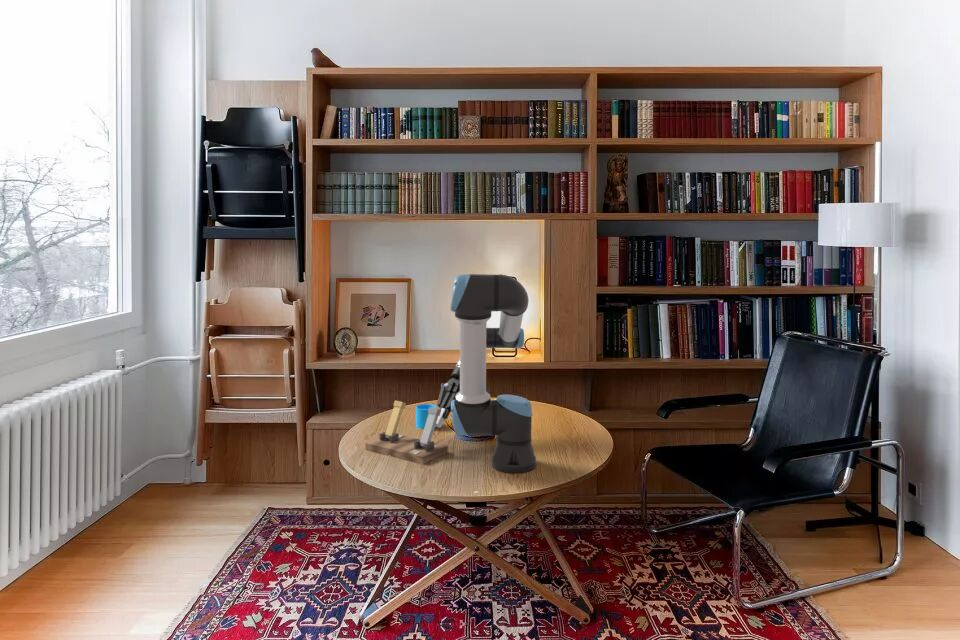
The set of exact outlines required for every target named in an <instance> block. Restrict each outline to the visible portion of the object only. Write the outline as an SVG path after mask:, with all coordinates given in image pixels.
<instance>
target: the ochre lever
mask: <svg viewBox="0 0 960 640" xmlns="http://www.w3.org/2000/svg"><path fill="white" fill-rule="evenodd" d="M406 406H407V403H406V402H403V401H401V400H394V402H393V408H392V409H393V410H392V412H391V415H390V418H389V421H388V424H387V426H386V431H385V432H386V433H385V438H387V439H390V436H392V435H394V434H397V430H398V427H399V423H400V421H401V417H402V415H403V411H404V410H405V409H406Z"/></svg>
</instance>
